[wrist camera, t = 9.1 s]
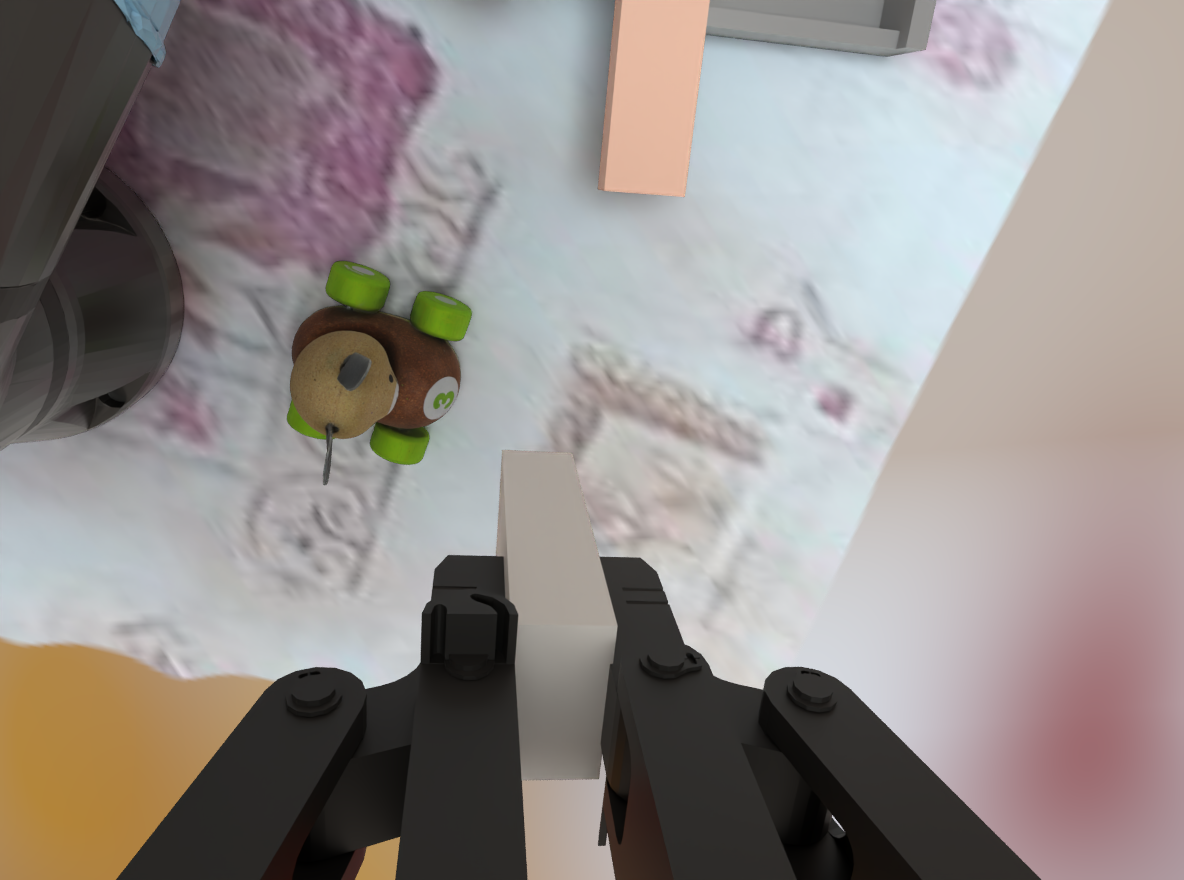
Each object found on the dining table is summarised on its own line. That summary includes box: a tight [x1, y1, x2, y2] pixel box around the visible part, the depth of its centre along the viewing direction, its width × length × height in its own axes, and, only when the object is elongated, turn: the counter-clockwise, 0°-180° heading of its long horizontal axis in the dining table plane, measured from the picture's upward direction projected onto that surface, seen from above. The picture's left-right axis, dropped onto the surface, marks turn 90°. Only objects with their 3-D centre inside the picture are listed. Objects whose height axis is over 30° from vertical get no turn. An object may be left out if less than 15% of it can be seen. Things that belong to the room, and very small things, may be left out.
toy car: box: [287, 261, 472, 485], centre depth 40 cm, size 9×9×11 cm
